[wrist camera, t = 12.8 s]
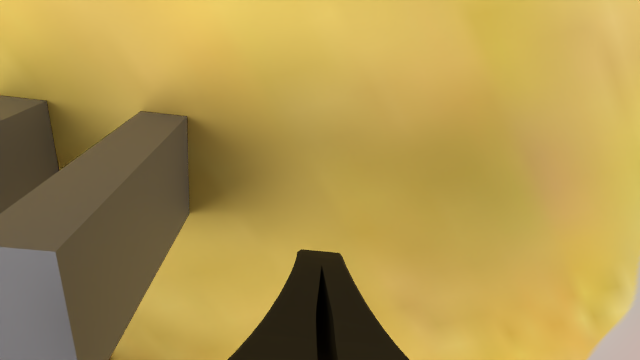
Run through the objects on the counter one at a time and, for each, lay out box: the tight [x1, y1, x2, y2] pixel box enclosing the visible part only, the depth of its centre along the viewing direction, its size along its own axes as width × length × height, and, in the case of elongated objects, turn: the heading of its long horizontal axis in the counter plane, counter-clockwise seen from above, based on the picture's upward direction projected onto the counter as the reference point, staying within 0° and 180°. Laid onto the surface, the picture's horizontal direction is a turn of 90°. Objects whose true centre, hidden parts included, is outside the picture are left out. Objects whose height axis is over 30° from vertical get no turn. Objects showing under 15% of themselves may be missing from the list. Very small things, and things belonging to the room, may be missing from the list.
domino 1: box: [0, 111, 189, 360], centre depth 14 cm, size 5×2×10 cm, turn 173°
